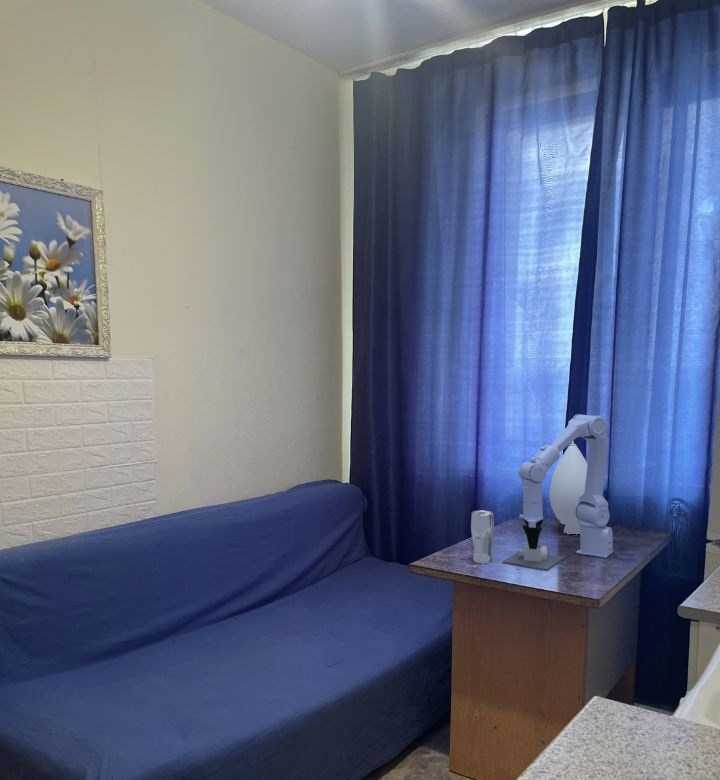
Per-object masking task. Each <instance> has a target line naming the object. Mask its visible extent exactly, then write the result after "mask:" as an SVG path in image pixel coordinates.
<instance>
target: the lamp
mask: <svg viewBox="0 0 720 780" xmlns="http://www.w3.org/2000/svg"><path fill="white" fill-rule="evenodd" d="M587 465H588V461H587V460H586V458H585V457H584V456H583V453H582V452H581V451H580V449H579V448H578V446H577V444H576V443H575V442H574V440H573V441H572V442H571V443H570V444H569V445H568V446H567V447H566V450H565V451H564V453H563V455H562V456H561V458H560V459H559V462H558V463H557V466H556V468H555V469H554V472H553V474H552V477H551V481H550V485H549V501H550V505H551V510H552V511H553V513H554V515H555V517H556V519H557V521H559V523H560V524H562V525H565V526H564V528H563V533H564V534H565V533H567V534H566V535H569V534H576V535H575V536H578V535H577V534H580V523H579V520H578V519H577V518H576V516H575V508H576V506H577V504H578V500H579V497H580V496H582V495H583V494H584V492H585V483H586V474H587ZM591 504H592V503H591Z"/></svg>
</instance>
